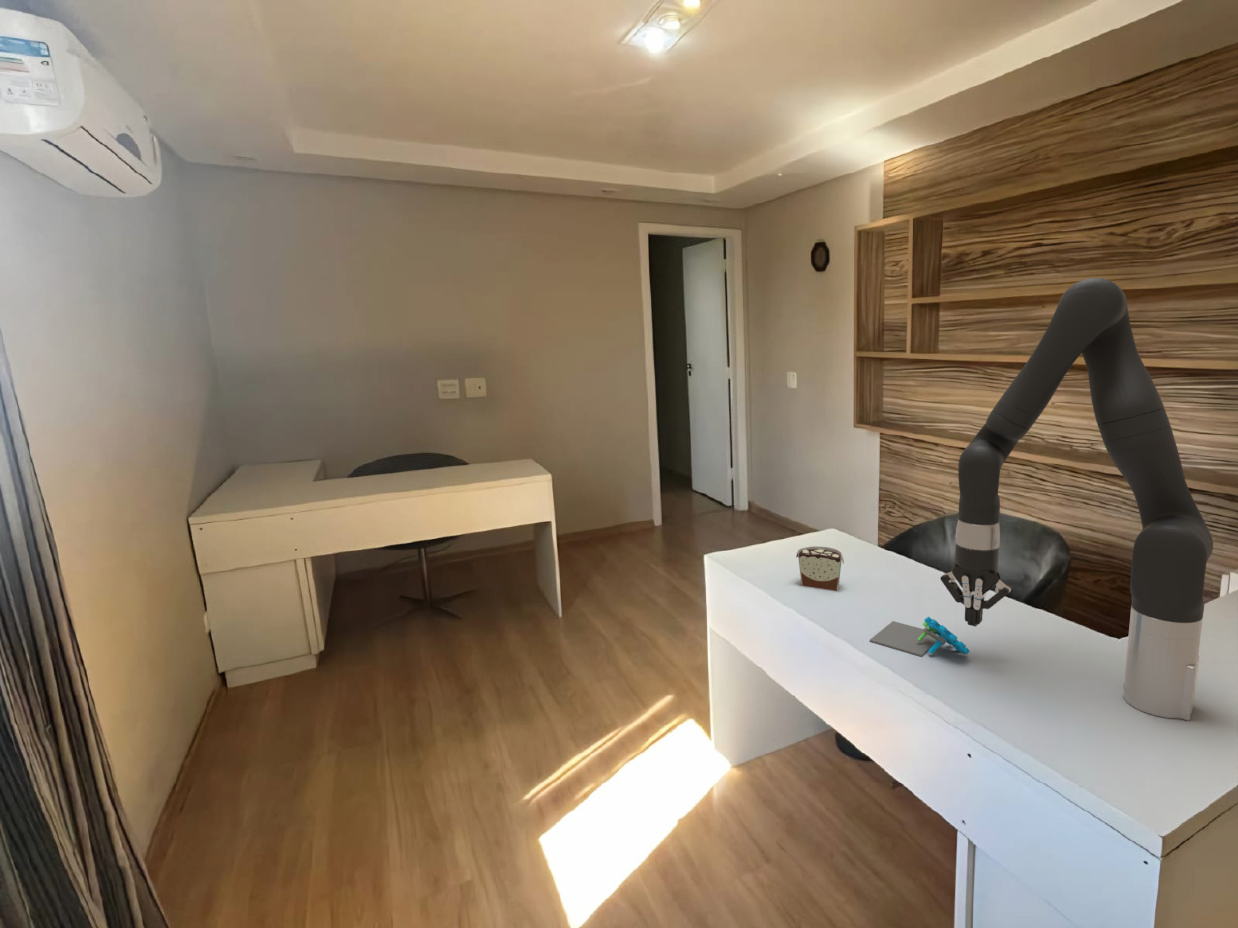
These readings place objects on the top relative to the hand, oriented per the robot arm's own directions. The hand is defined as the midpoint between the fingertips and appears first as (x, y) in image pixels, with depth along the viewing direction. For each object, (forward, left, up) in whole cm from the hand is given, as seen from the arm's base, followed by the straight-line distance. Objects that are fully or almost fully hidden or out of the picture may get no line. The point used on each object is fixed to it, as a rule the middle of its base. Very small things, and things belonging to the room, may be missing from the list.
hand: (973, 624), depth 130 cm
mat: (+13, 0, -7) cm, 15 cm away
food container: (+42, -17, -7) cm, 46 cm away
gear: (+4, 0, -8) cm, 9 cm away
